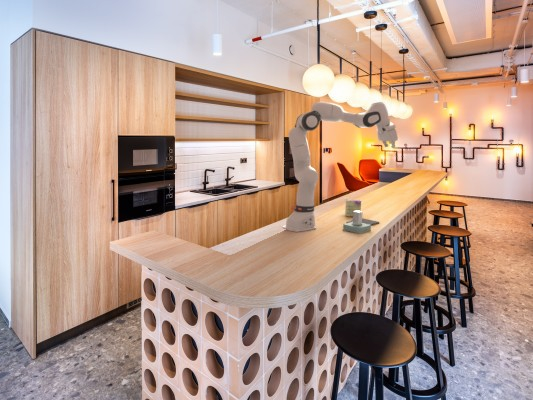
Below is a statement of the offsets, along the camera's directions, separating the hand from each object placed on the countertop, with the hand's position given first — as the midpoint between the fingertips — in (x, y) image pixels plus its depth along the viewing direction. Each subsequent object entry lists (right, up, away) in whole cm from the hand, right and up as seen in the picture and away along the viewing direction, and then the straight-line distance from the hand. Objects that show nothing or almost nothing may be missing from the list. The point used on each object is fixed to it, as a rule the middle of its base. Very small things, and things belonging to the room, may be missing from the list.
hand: (390, 147), depth 213 cm
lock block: (-23, -53, -7) cm, 58 cm away
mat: (-15, -50, +9) cm, 53 cm away
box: (-16, -46, +32) cm, 58 cm away
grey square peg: (-23, -53, -7) cm, 58 cm away
